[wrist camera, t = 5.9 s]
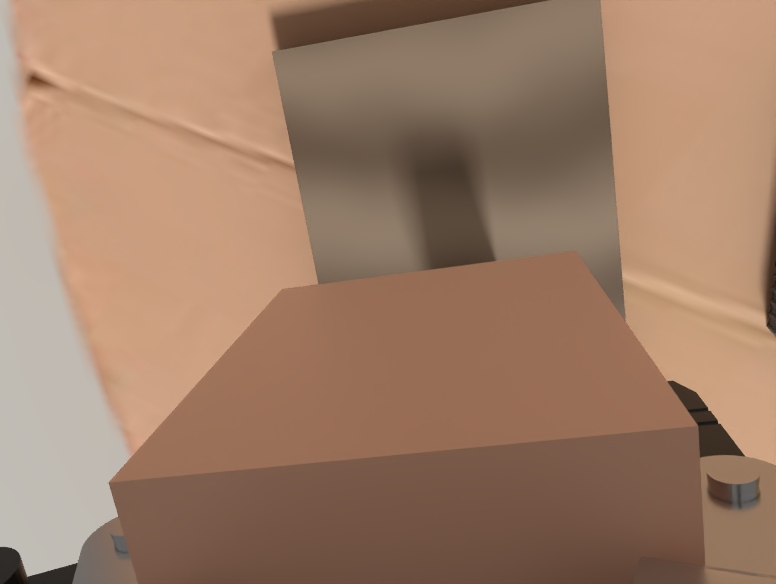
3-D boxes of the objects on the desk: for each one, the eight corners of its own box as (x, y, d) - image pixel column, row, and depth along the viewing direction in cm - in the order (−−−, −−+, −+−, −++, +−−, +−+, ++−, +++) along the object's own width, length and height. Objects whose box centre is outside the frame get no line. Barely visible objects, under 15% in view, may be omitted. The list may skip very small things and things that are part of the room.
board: (281, 52, 28) (225, 46, 22) (592, -5, 26) (635, -31, 20) (372, 512, 34) (350, 619, 27) (632, 489, 32) (676, 597, 26)
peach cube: (282, 289, 13) (109, 482, 7) (575, 250, 12) (698, 426, 6) (333, 538, 14) (229, 898, 8) (600, 516, 13) (723, 894, 7)
